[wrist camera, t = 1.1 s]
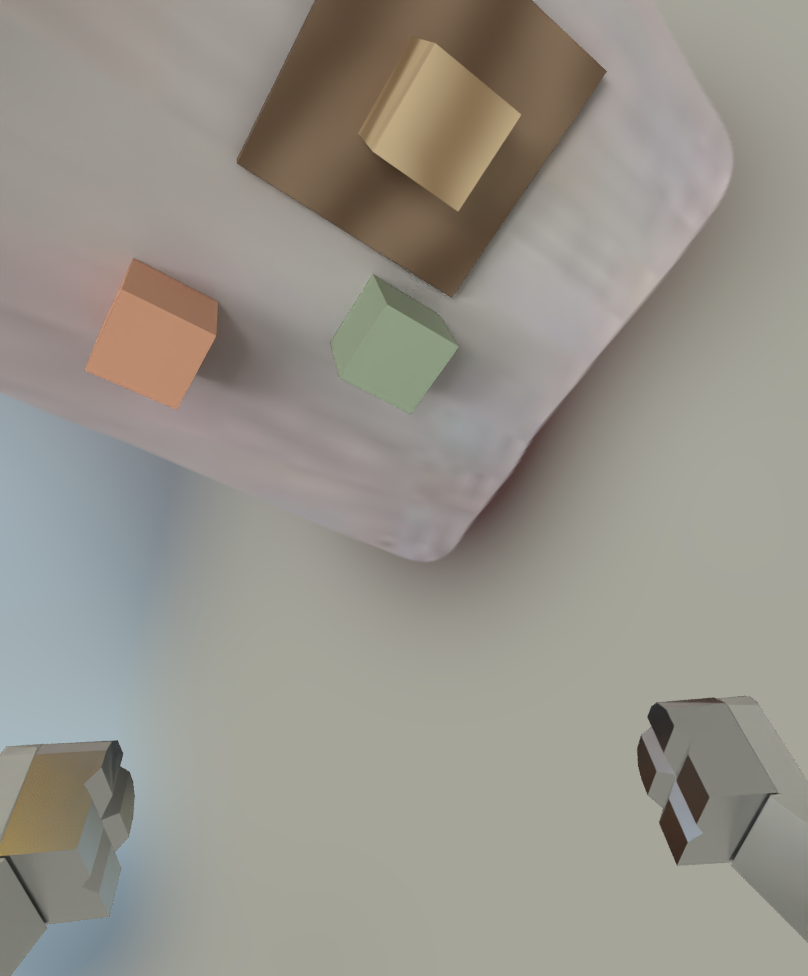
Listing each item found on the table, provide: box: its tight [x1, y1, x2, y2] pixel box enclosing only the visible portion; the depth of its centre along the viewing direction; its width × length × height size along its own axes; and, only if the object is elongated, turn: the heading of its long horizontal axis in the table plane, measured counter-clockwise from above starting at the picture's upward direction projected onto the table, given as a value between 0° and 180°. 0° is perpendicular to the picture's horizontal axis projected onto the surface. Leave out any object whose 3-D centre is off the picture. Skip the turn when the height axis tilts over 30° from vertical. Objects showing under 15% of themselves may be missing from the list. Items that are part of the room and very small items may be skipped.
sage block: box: [330, 275, 459, 414], centre depth 41 cm, size 5×5×5 cm
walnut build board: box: [237, 0, 607, 297], centre depth 34 cm, size 14×14×6 cm
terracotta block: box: [85, 258, 218, 409], centre depth 38 cm, size 5×5×5 cm
